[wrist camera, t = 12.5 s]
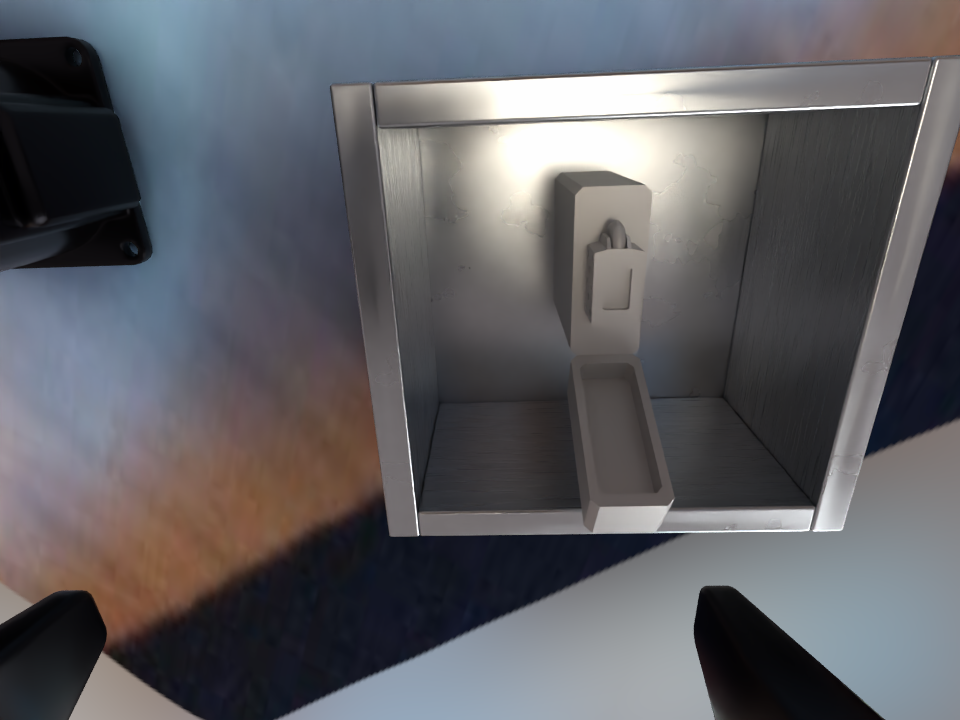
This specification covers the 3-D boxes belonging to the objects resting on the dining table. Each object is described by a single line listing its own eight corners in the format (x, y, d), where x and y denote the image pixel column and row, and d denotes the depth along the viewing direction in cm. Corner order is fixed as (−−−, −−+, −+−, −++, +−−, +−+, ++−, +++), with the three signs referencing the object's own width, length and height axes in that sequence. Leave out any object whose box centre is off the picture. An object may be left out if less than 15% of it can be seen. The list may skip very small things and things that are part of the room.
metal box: (421, 411, 20) (389, 537, 14) (392, 100, 16) (328, 83, 10) (733, 404, 20) (843, 532, 14) (788, 83, 16) (983, 53, 9)
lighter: (555, 172, 16) (607, 210, 9) (613, 170, 16) (716, 207, 9) (552, 385, 19) (588, 551, 11) (601, 384, 19) (670, 550, 11)
